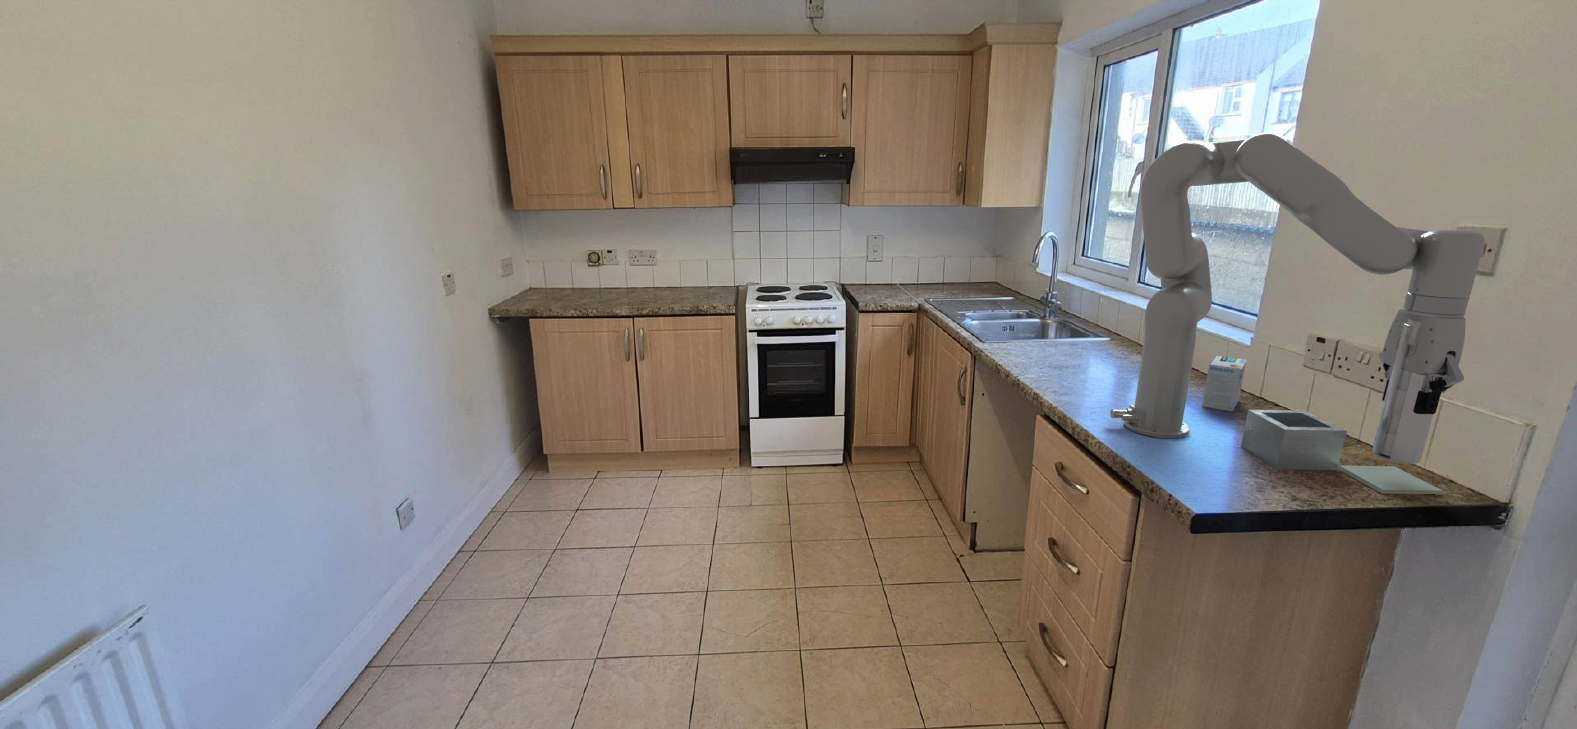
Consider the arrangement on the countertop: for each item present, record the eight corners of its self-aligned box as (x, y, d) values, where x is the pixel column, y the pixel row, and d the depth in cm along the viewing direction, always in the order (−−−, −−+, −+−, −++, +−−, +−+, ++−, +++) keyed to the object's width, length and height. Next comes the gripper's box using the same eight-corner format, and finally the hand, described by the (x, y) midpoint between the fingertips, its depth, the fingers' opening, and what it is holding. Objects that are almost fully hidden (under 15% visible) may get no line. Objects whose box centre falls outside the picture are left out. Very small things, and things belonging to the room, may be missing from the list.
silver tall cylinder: (1430, 465, 113) (1468, 324, 106) (1386, 462, 114) (1422, 322, 107) (1404, 450, 119) (1439, 316, 112) (1363, 448, 120) (1395, 315, 113)
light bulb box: (1207, 395, 165) (1215, 354, 163) (1239, 401, 161) (1247, 359, 158) (1200, 406, 157) (1208, 363, 155) (1234, 412, 153) (1242, 368, 150)
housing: (1276, 469, 123) (1285, 429, 121) (1240, 446, 134) (1248, 409, 131) (1337, 470, 122) (1347, 430, 120) (1296, 447, 133) (1304, 410, 131)
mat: (1381, 493, 113) (1382, 489, 113) (1338, 469, 123) (1338, 465, 123) (1441, 494, 113) (1443, 490, 112) (1393, 470, 122) (1394, 466, 122)
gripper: (1370, 296, 118) (1347, 391, 122) (1459, 315, 101) (1429, 424, 106) (1413, 296, 117) (1389, 392, 122) (1510, 315, 101) (1477, 425, 105)
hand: (1408, 406), depth 114 cm, fingers closed on silver tall cylinder, 5 cm apart
